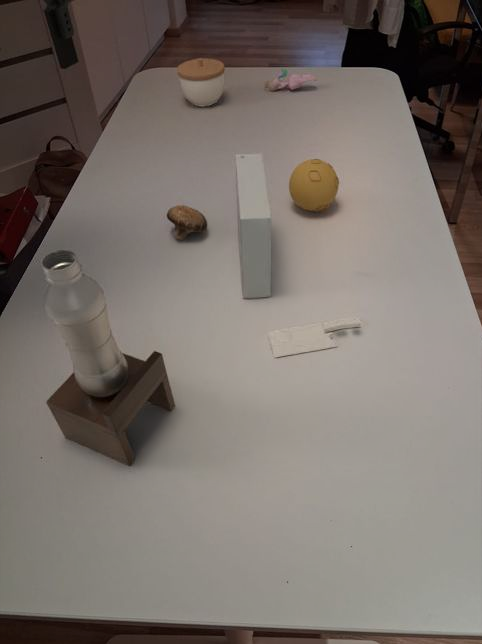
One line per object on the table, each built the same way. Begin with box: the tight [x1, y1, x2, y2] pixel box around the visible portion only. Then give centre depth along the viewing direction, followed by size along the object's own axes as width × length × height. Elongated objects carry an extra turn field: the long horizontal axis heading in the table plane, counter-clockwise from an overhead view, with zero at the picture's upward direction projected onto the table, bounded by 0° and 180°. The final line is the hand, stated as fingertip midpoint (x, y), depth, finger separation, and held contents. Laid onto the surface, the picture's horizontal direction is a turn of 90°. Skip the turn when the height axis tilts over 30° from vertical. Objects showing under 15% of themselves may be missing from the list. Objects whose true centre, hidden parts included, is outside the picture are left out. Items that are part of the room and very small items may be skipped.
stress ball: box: [288, 158, 340, 213], centre depth 107 cm, size 10×10×10 cm
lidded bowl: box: [176, 57, 226, 105], centre depth 145 cm, size 13×13×11 cm
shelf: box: [45, 350, 176, 467], centre depth 71 cm, size 11×11×11 cm
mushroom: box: [166, 204, 208, 241], centre depth 104 cm, size 8×8×6 cm
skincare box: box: [235, 153, 272, 299], centre depth 93 cm, size 21×5×16 cm, turn 4°
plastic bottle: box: [40, 249, 129, 397], centre depth 62 cm, size 6×7×20 cm
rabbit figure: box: [263, 68, 318, 92], centre depth 151 cm, size 6×6×15 cm
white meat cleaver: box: [266, 316, 362, 359], centre depth 84 cm, size 5×15×1 cm, turn 101°
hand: (29, 59), depth 71 cm, fingers open, 13 cm apart
